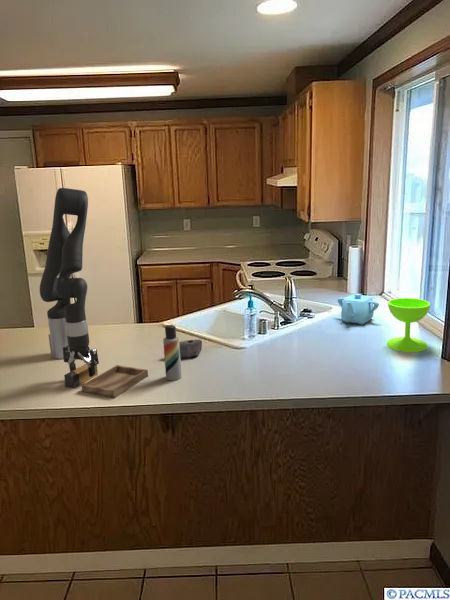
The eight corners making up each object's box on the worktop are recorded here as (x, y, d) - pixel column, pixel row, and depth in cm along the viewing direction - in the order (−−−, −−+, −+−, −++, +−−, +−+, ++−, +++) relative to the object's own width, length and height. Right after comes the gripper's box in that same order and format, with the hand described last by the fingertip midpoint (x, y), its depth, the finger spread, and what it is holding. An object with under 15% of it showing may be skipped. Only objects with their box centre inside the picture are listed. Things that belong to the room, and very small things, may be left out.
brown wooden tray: (82, 391, 178) (81, 385, 178) (117, 371, 196) (116, 365, 195) (114, 397, 172) (114, 391, 172) (148, 376, 190) (147, 369, 189)
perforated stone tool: (166, 361, 204) (164, 344, 203) (166, 356, 210) (164, 340, 208) (203, 358, 206) (202, 341, 204) (202, 353, 211) (201, 337, 209)
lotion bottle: (166, 375, 190) (162, 323, 185) (181, 374, 190) (178, 322, 185) (165, 381, 184) (161, 328, 179) (181, 380, 185) (178, 327, 180)
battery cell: (65, 386, 184) (64, 375, 182) (90, 372, 196) (89, 361, 194) (74, 388, 182) (72, 376, 181) (99, 374, 194) (97, 363, 193)
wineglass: (384, 338, 219) (386, 297, 214) (424, 339, 215) (426, 298, 211) (388, 351, 204) (390, 307, 199) (431, 352, 200) (433, 308, 196)
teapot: (335, 317, 252) (335, 290, 249) (368, 315, 253) (369, 289, 250) (346, 328, 235) (346, 300, 231) (381, 326, 235) (382, 298, 232)
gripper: (99, 331, 184) (104, 373, 188) (69, 327, 190) (74, 368, 194) (86, 337, 178) (91, 380, 182) (54, 334, 184) (60, 376, 188)
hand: (82, 374), depth 188 cm, fingers open, 8 cm apart
